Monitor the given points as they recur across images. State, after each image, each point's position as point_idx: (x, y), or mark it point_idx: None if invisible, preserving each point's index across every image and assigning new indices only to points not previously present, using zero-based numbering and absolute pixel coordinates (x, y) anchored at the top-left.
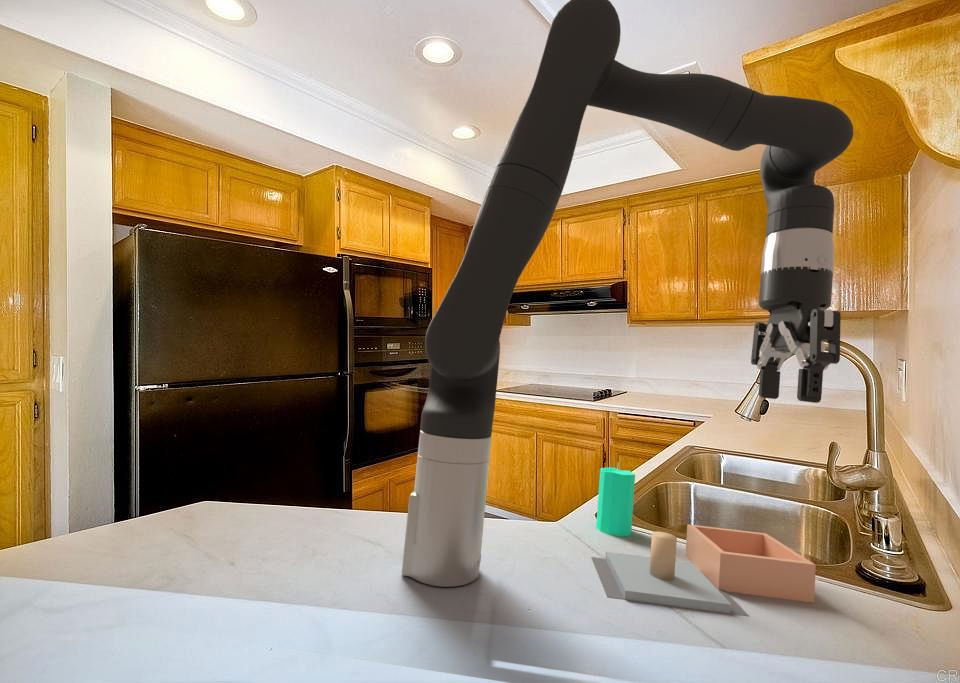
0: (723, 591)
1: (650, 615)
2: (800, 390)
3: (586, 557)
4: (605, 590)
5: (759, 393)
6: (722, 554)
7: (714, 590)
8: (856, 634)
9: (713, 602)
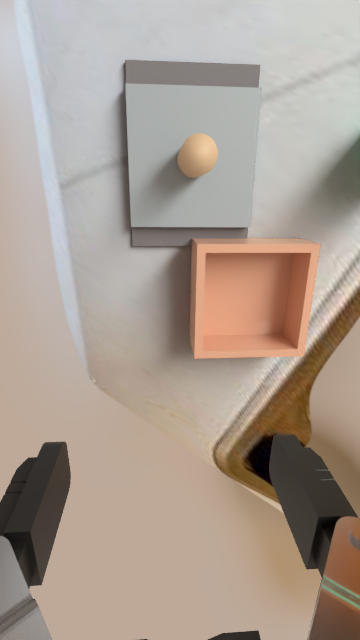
0: (189, 243)
1: (104, 118)
2: (40, 461)
3: (267, 60)
4: (144, 62)
5: (292, 438)
6: (197, 246)
7: (164, 221)
8: (136, 345)
9: (130, 205)
